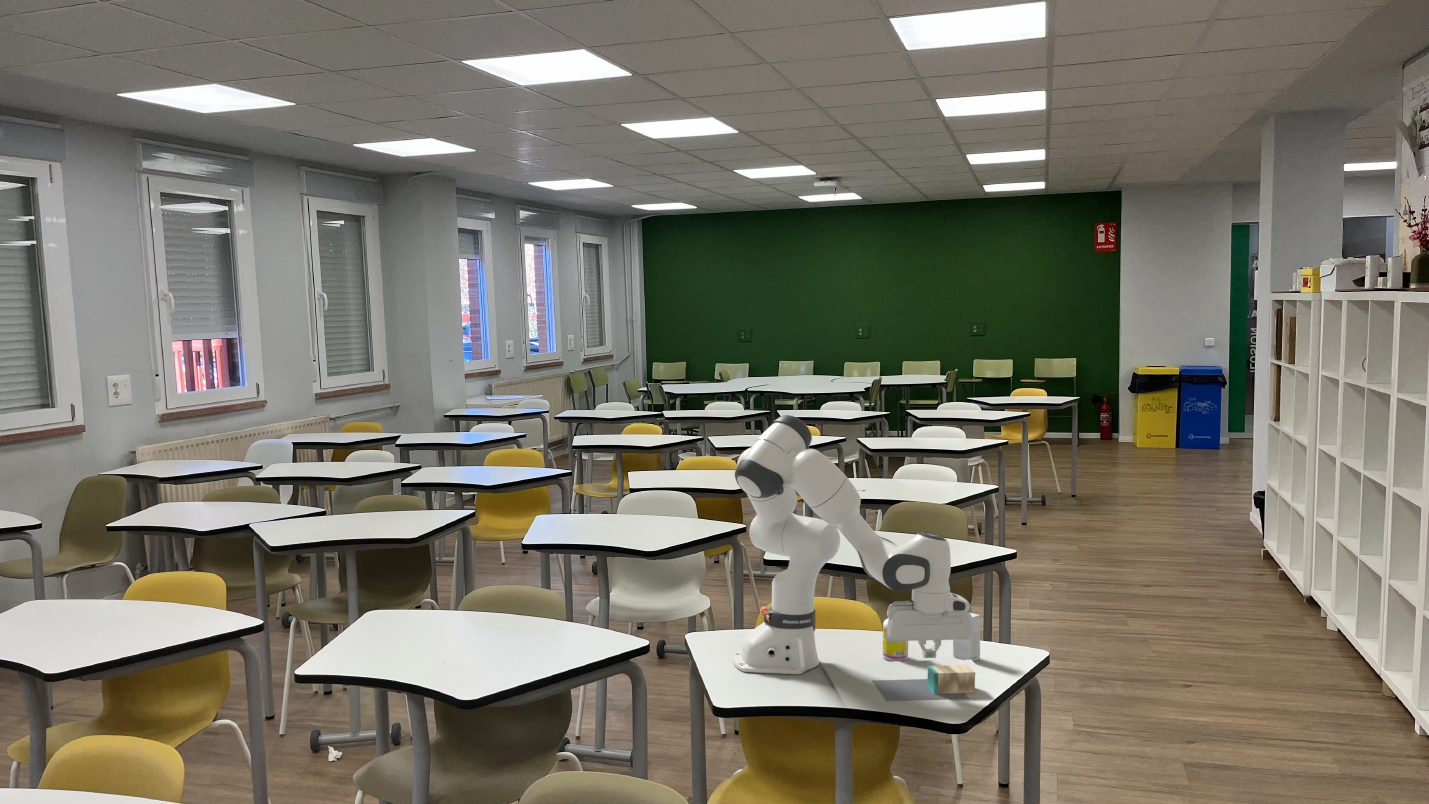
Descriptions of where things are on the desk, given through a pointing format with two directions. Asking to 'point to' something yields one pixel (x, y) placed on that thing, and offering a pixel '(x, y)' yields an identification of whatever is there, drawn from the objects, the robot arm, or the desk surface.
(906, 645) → the supplement bottle
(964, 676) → the birch block
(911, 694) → the rubber mat
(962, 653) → the skincare box
